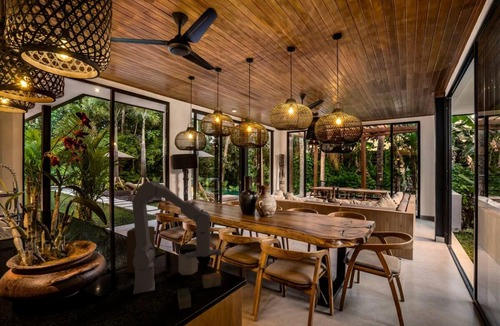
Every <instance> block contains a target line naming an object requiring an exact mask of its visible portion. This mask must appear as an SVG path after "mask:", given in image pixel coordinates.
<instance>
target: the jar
mask: <svg viewBox="0 0 500 326" xmlns="http://www.w3.org/2000/svg"><path fill="white" fill-rule="evenodd" d="M178 250H179V251H178V273H179V274H180V275H181V276H191V275H192V276H193V275H194V274H195V273H197V272H198V270H199V268H198V265H199V262H198V260H197V258H189V259H186V258H185V253H190V252H194V251H196V244H194V243H186V244H185V243H184V244H182V245H180V246H179V249H178Z"/></svg>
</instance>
